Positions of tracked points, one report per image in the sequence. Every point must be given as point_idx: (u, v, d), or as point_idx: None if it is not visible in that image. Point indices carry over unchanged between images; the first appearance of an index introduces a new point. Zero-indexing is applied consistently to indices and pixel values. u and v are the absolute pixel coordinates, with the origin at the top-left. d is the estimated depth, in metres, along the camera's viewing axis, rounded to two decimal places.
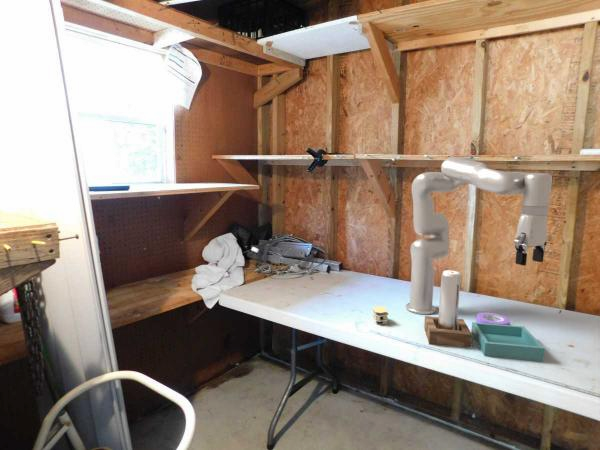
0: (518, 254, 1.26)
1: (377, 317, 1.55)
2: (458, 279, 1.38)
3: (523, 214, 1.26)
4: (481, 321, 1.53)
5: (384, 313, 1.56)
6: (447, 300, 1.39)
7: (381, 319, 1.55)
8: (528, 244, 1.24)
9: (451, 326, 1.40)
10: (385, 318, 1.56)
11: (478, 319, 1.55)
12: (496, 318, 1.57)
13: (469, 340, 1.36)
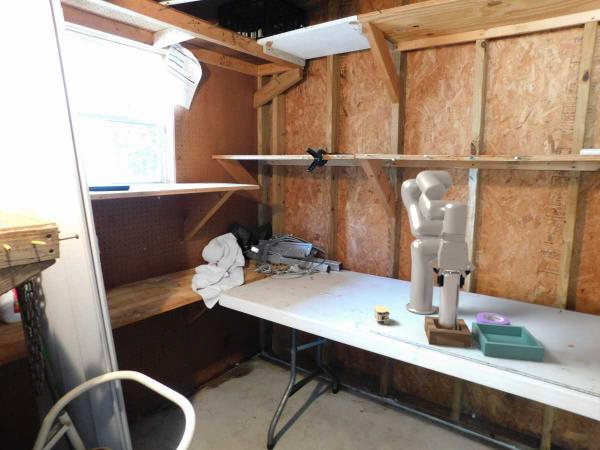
0: None
1: (379, 317, 1.55)
2: (458, 279, 1.38)
3: (464, 241, 1.36)
4: (481, 321, 1.53)
5: (385, 313, 1.57)
6: (447, 300, 1.39)
7: (383, 319, 1.56)
8: None
9: (451, 326, 1.40)
10: (386, 318, 1.56)
11: (478, 319, 1.55)
12: (496, 318, 1.57)
13: (469, 340, 1.36)
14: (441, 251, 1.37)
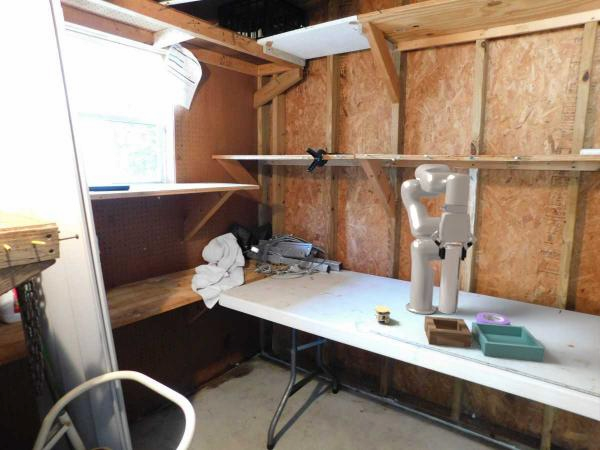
0: None
1: (379, 316, 1.55)
2: (460, 251, 1.37)
3: (466, 213, 1.35)
4: (481, 321, 1.53)
5: (386, 312, 1.57)
6: (448, 273, 1.38)
7: (383, 318, 1.56)
8: None
9: (452, 299, 1.39)
10: (387, 317, 1.56)
11: (478, 319, 1.55)
12: (496, 318, 1.57)
13: (469, 340, 1.36)
14: (443, 223, 1.36)
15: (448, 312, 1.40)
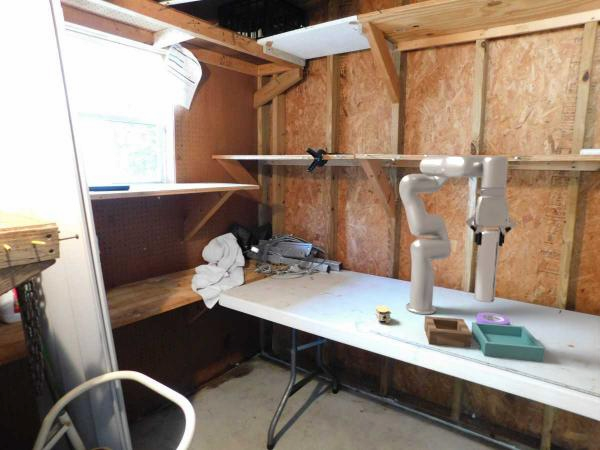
0: None
1: (380, 316, 1.56)
2: (497, 236, 1.32)
3: (504, 196, 1.30)
4: (481, 321, 1.53)
5: (387, 312, 1.57)
6: (485, 259, 1.33)
7: (384, 318, 1.56)
8: None
9: (490, 286, 1.34)
10: (388, 317, 1.57)
11: (478, 319, 1.55)
12: (496, 318, 1.57)
13: (469, 340, 1.36)
14: (479, 207, 1.31)
15: (485, 300, 1.34)
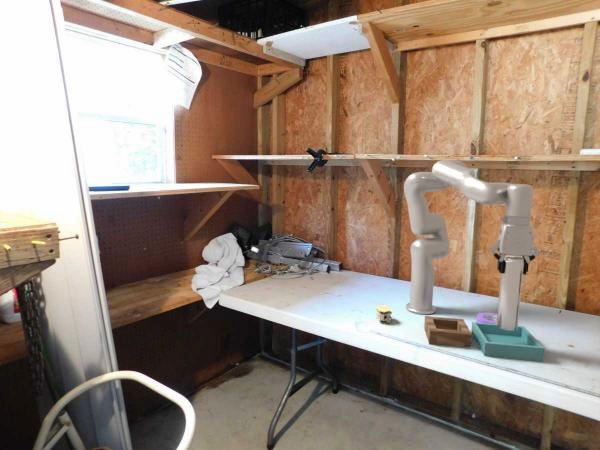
0: None
1: (381, 316, 1.56)
2: (522, 265, 1.31)
3: (529, 225, 1.29)
4: (481, 321, 1.53)
5: (387, 312, 1.58)
6: (509, 287, 1.32)
7: (385, 318, 1.57)
8: None
9: (514, 315, 1.32)
10: (389, 317, 1.57)
11: (478, 319, 1.55)
12: (496, 318, 1.57)
13: (469, 340, 1.36)
14: (504, 235, 1.30)
15: (509, 329, 1.33)
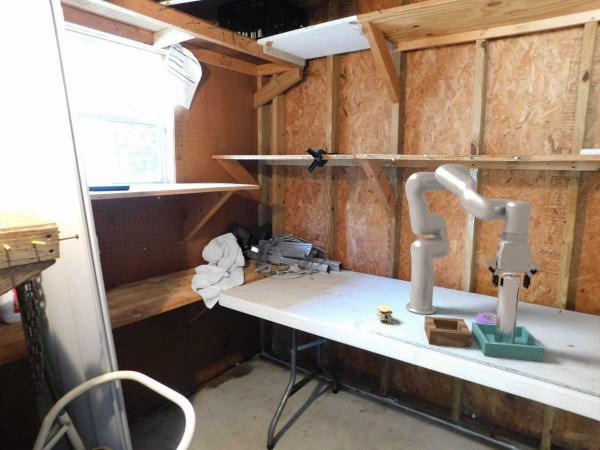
0: None
1: (382, 316, 1.56)
2: (519, 282, 1.32)
3: (527, 241, 1.30)
4: (481, 321, 1.53)
5: (388, 312, 1.58)
6: (506, 305, 1.33)
7: (386, 318, 1.57)
8: None
9: (511, 331, 1.34)
10: (389, 316, 1.57)
11: (478, 319, 1.55)
12: None
13: (469, 340, 1.36)
14: (502, 252, 1.31)
15: None
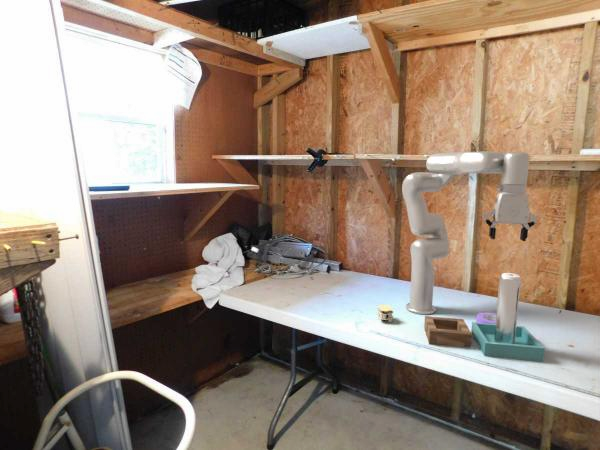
0: None
1: (383, 315, 1.56)
2: (519, 282, 1.32)
3: None
4: (481, 321, 1.53)
5: (389, 311, 1.58)
6: (506, 305, 1.33)
7: (386, 317, 1.57)
8: None
9: (511, 331, 1.34)
10: (390, 316, 1.58)
11: (478, 319, 1.55)
12: None
13: (469, 340, 1.36)
14: (500, 203, 1.30)
15: None
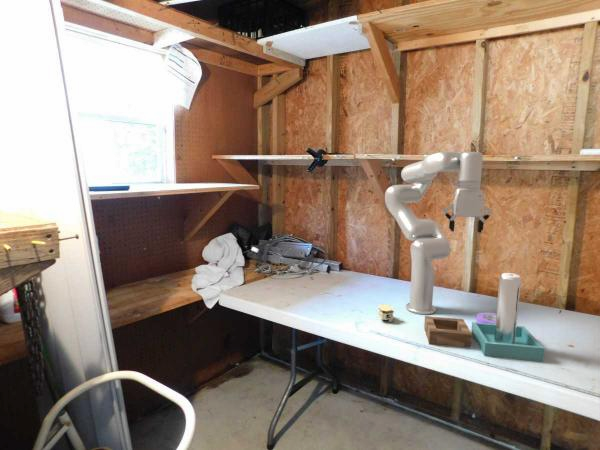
0: None
1: (383, 315, 1.57)
2: (519, 282, 1.32)
3: (479, 189, 1.42)
4: (481, 321, 1.53)
5: (390, 311, 1.59)
6: (506, 305, 1.33)
7: (387, 317, 1.58)
8: None
9: (511, 331, 1.34)
10: (391, 316, 1.58)
11: (478, 319, 1.55)
12: None
13: (469, 340, 1.36)
14: (457, 198, 1.43)
15: None
